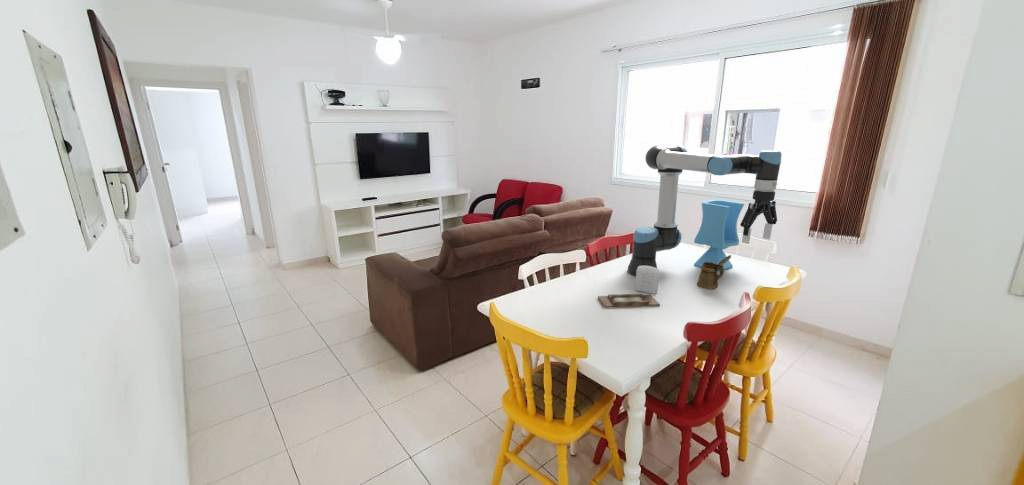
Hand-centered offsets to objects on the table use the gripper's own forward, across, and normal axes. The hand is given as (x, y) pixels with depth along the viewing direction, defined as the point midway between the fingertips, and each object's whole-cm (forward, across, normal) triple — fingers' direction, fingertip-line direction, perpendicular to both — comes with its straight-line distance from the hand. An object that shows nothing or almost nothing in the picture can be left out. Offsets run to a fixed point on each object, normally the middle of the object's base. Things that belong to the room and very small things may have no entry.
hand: (756, 240), depth 168 cm
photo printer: (+28, -30, +28) cm, 50 cm away
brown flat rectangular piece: (+28, -46, +23) cm, 58 cm away
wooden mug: (+28, 0, +17) cm, 33 cm away
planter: (+28, +26, +37) cm, 53 cm away
